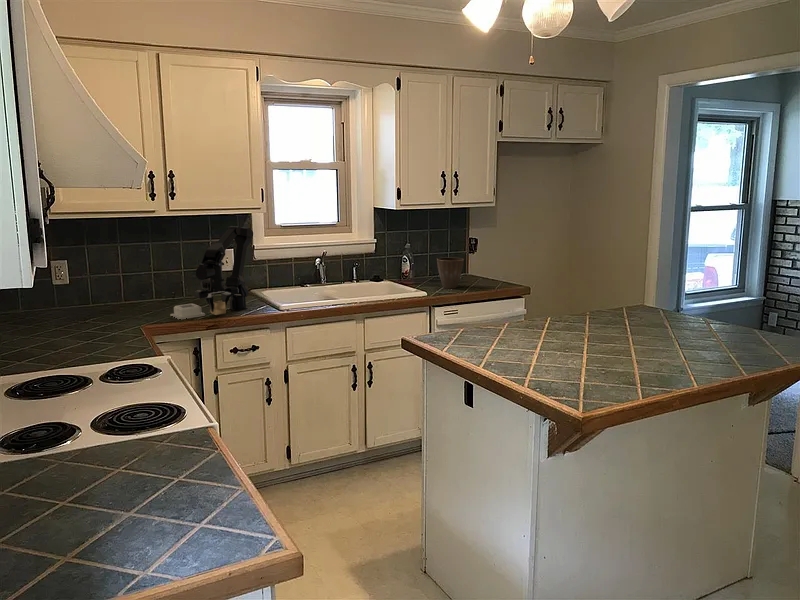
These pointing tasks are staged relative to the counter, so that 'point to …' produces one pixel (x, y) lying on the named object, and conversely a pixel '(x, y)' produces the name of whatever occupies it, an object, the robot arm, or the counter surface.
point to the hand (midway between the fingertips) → (218, 310)
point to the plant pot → (450, 271)
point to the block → (218, 307)
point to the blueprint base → (187, 311)
